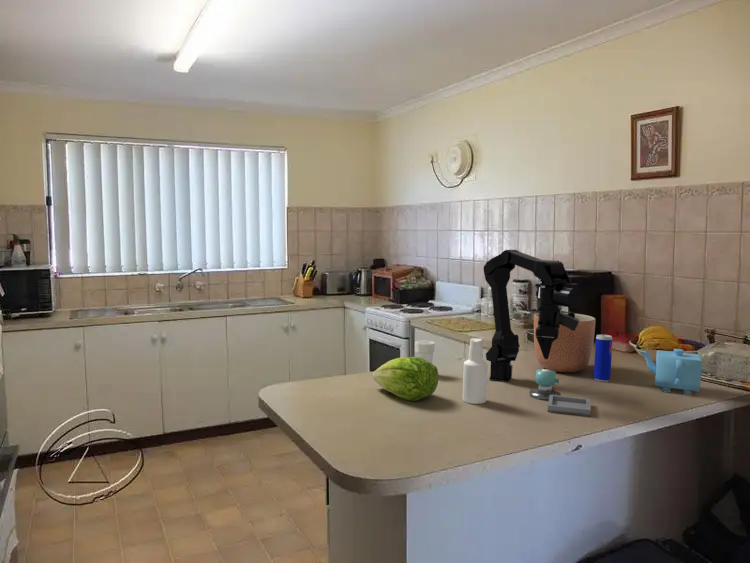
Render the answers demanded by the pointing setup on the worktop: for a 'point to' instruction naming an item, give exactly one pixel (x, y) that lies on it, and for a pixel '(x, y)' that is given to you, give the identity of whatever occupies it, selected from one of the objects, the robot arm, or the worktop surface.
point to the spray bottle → (475, 374)
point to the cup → (425, 350)
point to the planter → (568, 346)
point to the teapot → (676, 370)
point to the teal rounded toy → (546, 377)
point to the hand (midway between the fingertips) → (546, 355)
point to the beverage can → (603, 358)
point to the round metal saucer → (543, 392)
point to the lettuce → (408, 377)
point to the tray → (569, 405)
